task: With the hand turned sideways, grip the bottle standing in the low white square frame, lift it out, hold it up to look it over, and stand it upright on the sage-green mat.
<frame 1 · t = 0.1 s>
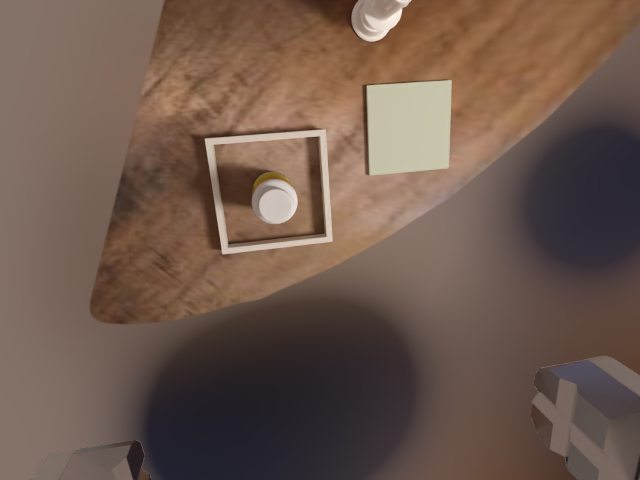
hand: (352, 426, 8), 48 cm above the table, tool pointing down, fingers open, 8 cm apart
supplement bottle: (272, 190, 54), resting in white square frame
white square frame: (272, 191, 54), on the table
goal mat: (408, 128, 55), on the table
candle: (370, 19, 50), on the table
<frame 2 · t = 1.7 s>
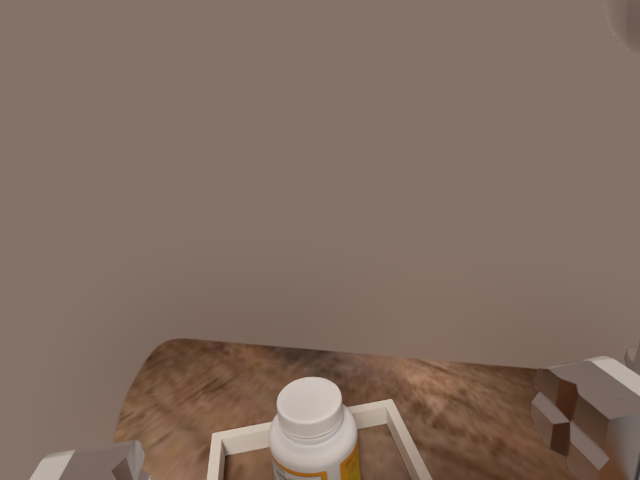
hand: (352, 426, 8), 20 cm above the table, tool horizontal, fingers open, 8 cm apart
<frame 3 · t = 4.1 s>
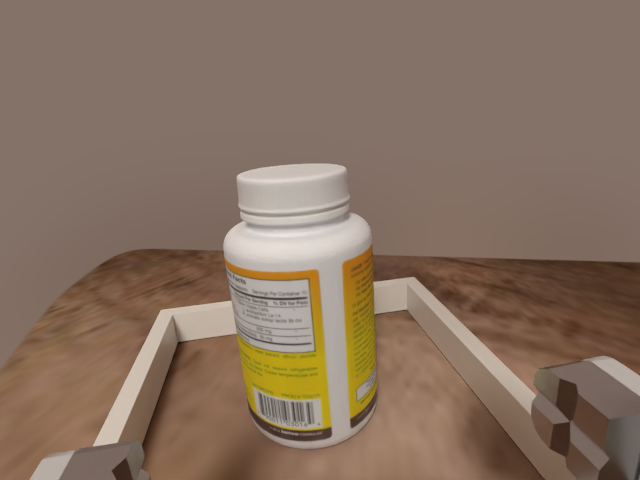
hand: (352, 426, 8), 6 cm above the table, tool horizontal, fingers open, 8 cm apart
supplement bottle: (313, 408, 17), resting in white square frame
white square frame: (313, 404, 17), on the table
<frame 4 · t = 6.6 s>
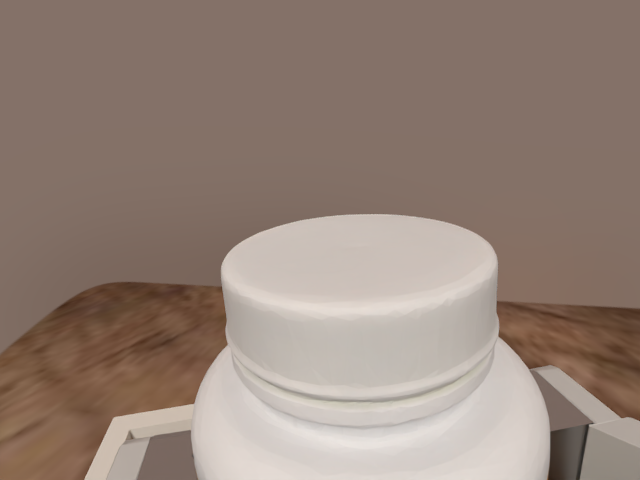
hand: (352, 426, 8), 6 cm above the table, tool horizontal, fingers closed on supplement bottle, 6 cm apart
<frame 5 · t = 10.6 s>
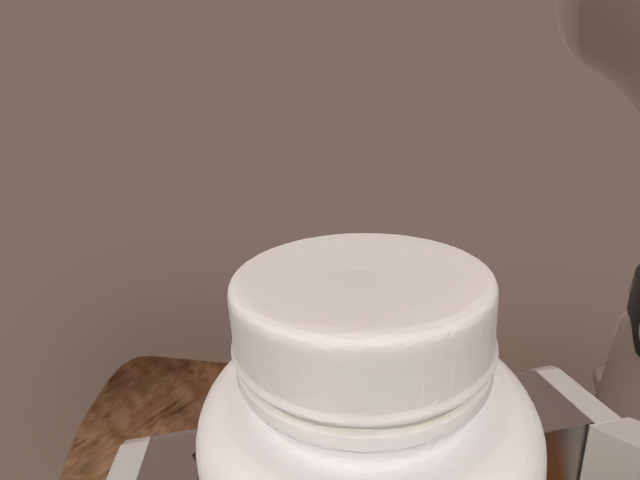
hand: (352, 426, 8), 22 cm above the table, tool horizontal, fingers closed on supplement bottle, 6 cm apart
when the fingers open (8 cm above the table, at t = 13.7 s): supplement bottle moves 1 cm, resting on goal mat.
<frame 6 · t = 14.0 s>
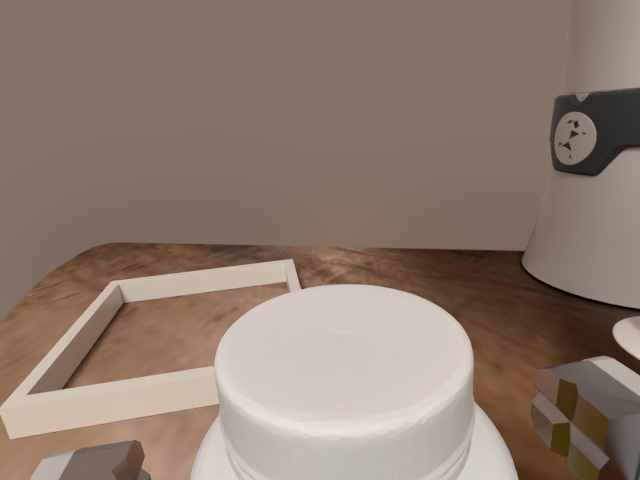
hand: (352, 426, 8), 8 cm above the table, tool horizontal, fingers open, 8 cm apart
white square frame: (195, 333, 27), on the table
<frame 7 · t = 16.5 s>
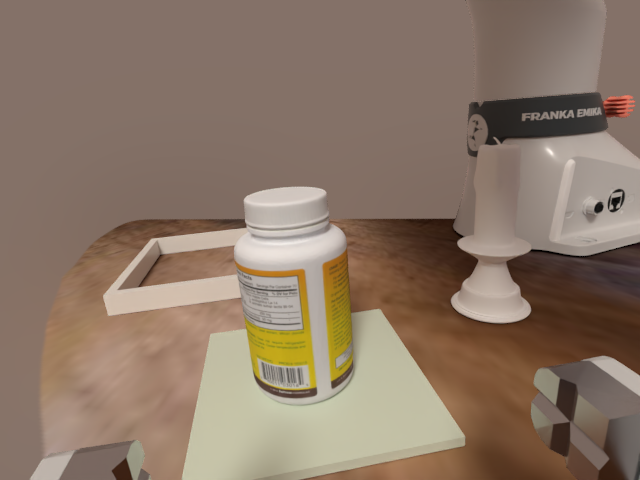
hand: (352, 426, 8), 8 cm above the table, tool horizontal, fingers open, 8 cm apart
supplement bottle: (304, 378, 22), resting on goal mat
white square frame: (215, 268, 40), on the table
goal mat: (310, 381, 22), on the table
candle: (489, 308, 28), on the table
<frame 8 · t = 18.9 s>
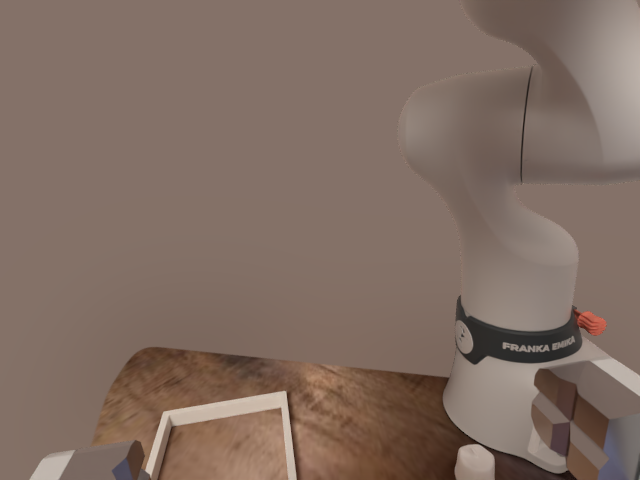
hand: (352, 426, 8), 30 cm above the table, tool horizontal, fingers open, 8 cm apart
white square frame: (223, 461, 43), on the table
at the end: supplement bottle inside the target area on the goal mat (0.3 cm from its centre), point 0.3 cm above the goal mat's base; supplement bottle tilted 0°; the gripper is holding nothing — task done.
